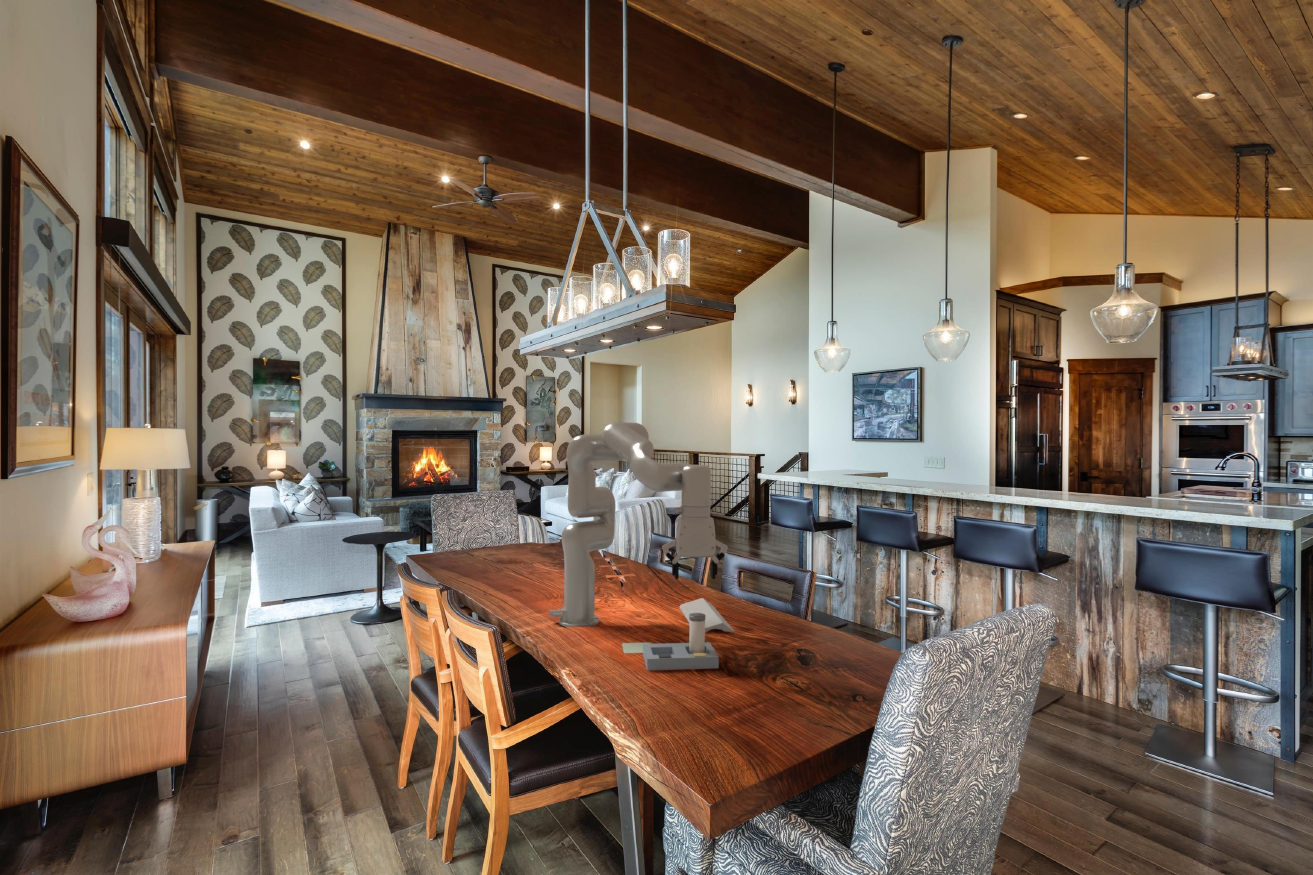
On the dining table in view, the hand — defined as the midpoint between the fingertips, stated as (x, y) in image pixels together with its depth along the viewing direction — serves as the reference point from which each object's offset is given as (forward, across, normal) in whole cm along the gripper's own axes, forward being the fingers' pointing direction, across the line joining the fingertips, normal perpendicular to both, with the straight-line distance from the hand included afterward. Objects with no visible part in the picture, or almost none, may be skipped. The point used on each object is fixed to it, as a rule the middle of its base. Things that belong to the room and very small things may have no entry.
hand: (694, 577), depth 163 cm
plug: (+22, +1, -1) cm, 22 cm away
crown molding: (+23, +11, +39) cm, 47 cm away
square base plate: (+22, -14, +10) cm, 28 cm away
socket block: (+22, -4, -1) cm, 23 cm away
